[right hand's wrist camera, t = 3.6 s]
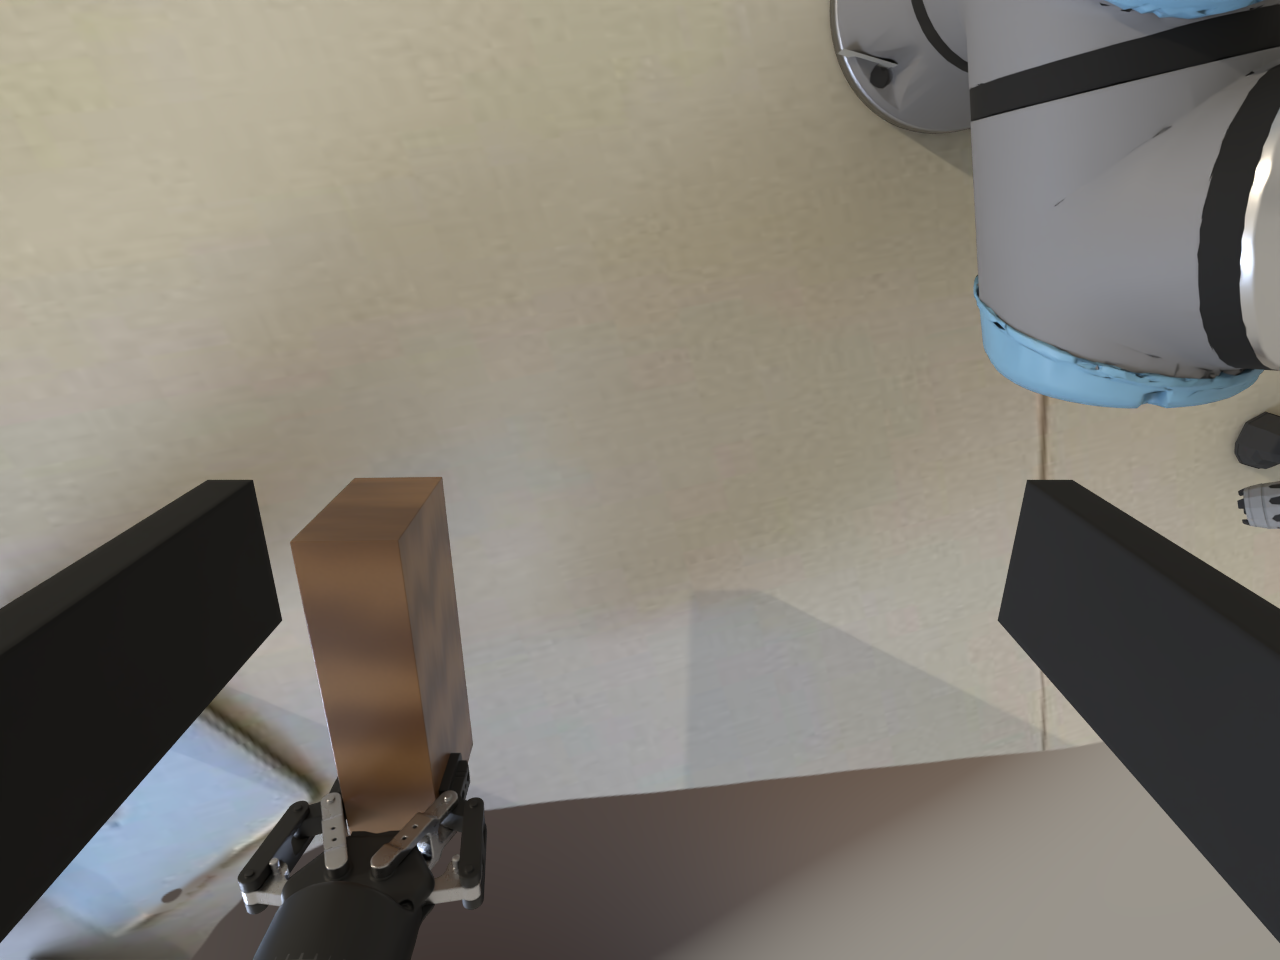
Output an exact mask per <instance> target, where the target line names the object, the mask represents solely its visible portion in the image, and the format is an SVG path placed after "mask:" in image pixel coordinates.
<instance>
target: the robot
mask: <svg viewBox="0 0 1280 960" xmlns="http://www.w3.org/2000/svg"><path fill="white" fill-rule="evenodd" d="M1235 455H1236V457H1237V458H1238V460H1239V462H1240V463H1241V464H1244V465H1248V466H1251V467H1255V468H1258V469H1259V468H1263V469H1267V468H1270V467H1273V466H1275V465H1278V464H1280V416H1277V415H1274V414H1271V413H1267V412H1264V413H1262V414H1260V415H1259V416H1257V417H1255V418H1253V419H1251V420H1250V421H1248V422H1246V423H1245V425H1244V427H1243V429H1242V431H1241V433H1240V435H1239V437H1238V439H1237V441H1236V444H1235ZM1238 493H1239V495H1240V496H1242V495H1244V499H1241V500H1238V508H1239V509H1244V514H1246V515H1247V519H1248V520H1242V521H1243V523H1244V524H1246V525H1250V526H1255V527H1262V528H1268V529H1280V481H1277V482H1271V483H1264V484H1257V485H1253V486H1250V487H1247V488H1244V489H1242V490H1240V491H1238Z"/></svg>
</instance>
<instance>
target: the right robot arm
mask: <svg viewBox="0 0 1280 960" xmlns="http://www.w3.org/2000/svg"><path fill="white" fill-rule="evenodd" d="M830 25H831V33H832V40H833V44H834V48H835V52H836V55H837V59H838V62H839V64H840V67H841V69H842V71H843V74H844V76H845V77H846V79H847V81H848V83H849V85H850V86H851V88H852V89H853V90H854V92H855V93H856V95H857V96H858V97H859V98H860V99H861V100H862V102H863V103H864V104H865V105H866V106H867V107H868V108H870V109H871V110H872V111H873V112H874V113H876V114H877V115H878V116H880V117H881V118H882V119H884V120H886V121H888V122H890V123H891V124H894V125H896V126H898V127H901V128H904V129H907V130H911V131H915V132H921V133H932V134H938V133H950V132H956V131H961V130H965V129H969V128H971V143H972V163H973V182H974V202H975V222H976V241H977V261H978V275H977V276H976V278H975V281H974V297H975V298H976V301H977V306H978V307H979V309H980V317H981V327H982V337H983V345H984V349H985V352H986V353H987V355H988V357H989V359H990V361H991V363H992V364H993V365H994V366H995V368H996V369H997V371H998V372H1000V373H1001V374H1002V375H1003V376H1005V377H1006V378H1007V379H1009V380H1010V381H1012V382H1014V383H1015V384H1017V385H1019V386H1021V387H1023V388H1026V389H1028V390H1031V391H1033V392H1036V393H1039V394H1042V395H1046V396H1049V397H1052V398H1057V399H1061V400H1065V401H1069V402H1075V403H1080V404H1086V405H1093V406H1102V407H1113V408H1138V407H1139V406H1140V405H1142V404H1146V403H1149V404H1154V405H1158V406H1161V407H1165V408H1175V407H1187V406H1196V405H1202V404H1207V403H1212V402H1216V401H1220V400H1223V399H1227V398H1229V397H1232V396H1234V395H1236V394H1238V393H1240V392H1241V391H1243V390H1245V389H1246V388H1248V387H1249V386H1251V385H1252V384H1253V383H1254V382H1255V381H1256V380H1257V379H1258V377H1259V375H1260V374H1261V373H1262V372H1263V371H1264V370H1277V371H1280V0H830ZM281 621H282V617H281V612H280V608H279V603H278V598H277V593H276V588H275V584H274V579H273V574H272V569H271V564H270V560H269V555H268V550H267V545H266V541H265V536H264V531H263V526H262V521H261V517H260V512H259V507H258V502H257V497H256V493H255V488H254V483H253V480H207V481H205V482H204V483H202V484H200V485H199V486H197V487H196V488H194V489H192V490H191V491H189V492H187V493H186V494H184V495H183V496H181V497H179V498H178V499H176V500H175V501H173V502H171V503H170V504H168V505H167V506H165V507H163V508H162V509H160V510H159V511H157V512H155V513H154V514H152V515H150V516H149V517H147V518H146V519H144V520H142V521H141V522H139V523H138V524H136V525H134V526H133V527H131V528H130V529H128V530H126V531H125V532H123V533H122V534H120V535H118V536H117V537H115V538H113V539H112V540H110V541H109V542H107V543H105V544H104V545H102V546H101V547H99V548H97V549H96V550H94V551H93V552H91V553H89V554H88V555H86V556H85V557H83V558H81V559H80V560H78V561H77V562H75V563H73V564H72V565H70V566H68V567H67V568H65V569H64V570H62V571H60V572H59V573H57V574H56V575H54V576H52V577H51V578H49V579H48V580H46V581H44V582H43V583H41V584H40V585H38V586H36V587H35V588H33V589H31V590H30V591H28V592H27V593H25V594H23V595H22V596H20V597H19V598H17V599H15V600H14V601H12V602H11V603H9V604H7V605H6V606H4V607H3V608H1V609H0V943H1V941H2V940H3V939H4V938H5V937H6V936H7V935H8V933H9V932H10V931H11V930H12V929H13V928H14V927H15V925H16V924H17V923H18V922H19V921H20V920H21V919H22V917H23V916H24V915H25V914H26V913H27V912H28V911H29V909H30V908H31V907H32V906H33V905H34V904H35V903H36V901H37V900H38V899H39V898H40V897H41V896H42V895H43V893H44V892H45V891H46V890H47V889H48V888H49V887H50V885H51V884H52V883H53V882H54V881H55V880H56V879H57V877H58V876H59V875H60V874H61V873H62V872H63V871H64V869H65V868H66V867H67V866H68V865H69V864H70V863H71V861H72V860H73V859H74V858H75V857H76V856H77V855H78V853H79V852H80V851H81V850H82V849H83V848H84V847H85V845H86V844H87V843H88V842H89V841H90V840H91V839H92V837H93V836H94V835H95V834H96V833H97V832H98V831H99V829H100V828H101V827H102V826H103V825H104V824H105V823H106V821H107V820H108V819H109V818H110V817H111V816H112V815H113V813H114V812H115V811H116V810H117V809H118V808H119V807H120V805H121V804H122V803H123V802H124V801H125V800H126V799H127V797H128V796H129V795H130V794H131V793H132V792H133V791H134V789H135V788H136V787H137V786H138V785H139V784H140V782H141V781H142V780H143V779H144V778H145V777H146V776H147V774H148V773H149V772H150V771H151V770H152V769H153V768H154V766H155V765H156V764H157V763H158V762H159V761H160V760H161V758H162V757H163V756H164V755H165V754H166V753H167V752H168V750H169V749H170V748H171V747H172V746H173V745H174V744H175V742H176V741H177V740H178V739H179V738H180V737H181V736H182V734H183V733H184V732H185V731H186V730H187V729H188V728H189V726H190V725H191V724H192V723H193V722H194V721H195V720H196V718H197V717H198V716H199V715H200V714H201V713H202V712H203V710H204V709H205V708H206V707H207V706H208V705H209V704H210V702H211V701H212V700H213V699H214V698H215V697H216V696H217V694H218V693H219V692H220V691H221V690H222V689H223V688H224V686H225V685H226V684H227V683H228V682H229V681H230V680H231V678H232V677H233V676H234V675H235V674H236V673H237V672H238V670H239V669H240V668H241V667H242V666H243V665H244V664H245V662H246V661H247V660H248V659H249V658H250V657H251V656H252V654H253V653H254V652H255V651H256V650H257V649H258V648H259V646H260V645H261V644H262V643H263V642H264V641H265V640H266V638H267V637H268V636H269V635H270V634H271V633H272V632H273V630H274V629H275V628H276V627H277V626H278V625H279V624H280V622H281ZM998 621H999V622H1000V624H1001V625H1002V626H1003V627H1004V628H1005V629H1006V630H1007V632H1008V633H1009V634H1010V635H1011V636H1012V637H1013V638H1014V640H1015V641H1016V642H1017V643H1018V644H1019V645H1020V646H1021V648H1022V649H1023V650H1024V651H1025V652H1026V653H1027V654H1028V656H1029V657H1030V658H1031V659H1032V660H1033V661H1034V662H1035V664H1036V665H1037V666H1038V667H1039V668H1040V669H1041V670H1042V672H1043V673H1044V674H1045V675H1046V676H1047V677H1048V678H1049V680H1050V681H1051V682H1052V683H1053V684H1054V685H1055V686H1056V688H1057V689H1058V690H1059V691H1060V692H1061V693H1062V694H1063V696H1064V697H1065V698H1066V699H1067V700H1068V701H1069V702H1070V704H1071V705H1072V706H1073V707H1074V708H1075V709H1076V710H1077V712H1078V713H1079V714H1080V715H1081V716H1082V717H1083V718H1084V720H1085V721H1086V722H1087V723H1088V724H1089V725H1090V726H1091V728H1092V729H1093V730H1094V731H1095V732H1096V733H1097V734H1098V736H1099V737H1100V738H1101V739H1102V740H1103V741H1104V742H1105V744H1106V745H1107V746H1108V747H1109V748H1110V749H1111V750H1112V752H1113V753H1114V754H1115V755H1116V756H1117V757H1118V758H1119V760H1120V761H1121V762H1122V763H1123V764H1124V765H1125V766H1126V768H1127V769H1128V770H1129V771H1130V772H1131V773H1132V774H1133V776H1134V777H1135V778H1136V779H1137V780H1138V781H1139V782H1140V784H1141V785H1142V786H1143V787H1144V788H1145V789H1146V791H1147V792H1148V793H1149V794H1150V795H1151V796H1152V797H1153V799H1154V800H1155V801H1156V802H1157V803H1158V804H1159V805H1160V807H1161V808H1162V809H1163V810H1164V811H1165V812H1166V813H1167V814H1168V816H1169V817H1170V818H1171V819H1172V820H1173V821H1174V822H1175V824H1176V825H1177V826H1178V827H1179V828H1180V829H1181V831H1182V832H1183V833H1184V834H1185V835H1186V836H1187V837H1188V839H1189V840H1190V841H1191V842H1192V843H1193V844H1194V845H1195V847H1196V848H1197V849H1198V850H1199V851H1200V852H1201V853H1202V855H1203V856H1204V857H1205V858H1206V859H1207V860H1208V861H1209V863H1210V864H1211V865H1212V866H1213V867H1214V868H1215V869H1216V871H1217V872H1218V873H1219V874H1220V875H1221V876H1222V877H1223V879H1224V880H1225V881H1226V882H1227V883H1228V884H1229V885H1230V887H1231V888H1232V889H1233V890H1234V891H1235V892H1236V893H1237V895H1238V896H1239V897H1240V898H1241V899H1242V900H1243V901H1244V903H1245V904H1246V905H1247V906H1248V907H1249V908H1250V909H1251V911H1252V912H1253V913H1254V914H1255V915H1256V916H1257V917H1258V919H1259V920H1260V921H1261V922H1262V923H1263V924H1264V925H1265V927H1266V928H1267V929H1268V930H1269V931H1270V932H1271V933H1272V935H1273V936H1274V937H1275V938H1276V939H1277V940H1278V941H1279V943H1280V609H1279V608H1277V607H1276V606H1274V605H1273V604H1271V603H1269V602H1268V601H1266V600H1265V599H1263V598H1261V597H1260V596H1258V595H1257V594H1255V593H1253V592H1252V591H1250V590H1249V589H1247V588H1245V587H1244V586H1242V585H1240V584H1239V583H1237V582H1236V581H1234V580H1232V579H1231V578H1229V577H1228V576H1226V575H1224V574H1223V573H1221V572H1220V571H1218V570H1216V569H1215V568H1213V567H1212V566H1210V565H1208V564H1207V563H1205V562H1203V561H1202V560H1200V559H1199V558H1197V557H1195V556H1194V555H1192V554H1191V553H1189V552H1187V551H1186V550H1184V549H1183V548H1181V547H1179V546H1178V545H1176V544H1175V543H1173V542H1171V541H1170V540H1168V539H1167V538H1165V537H1163V536H1162V535H1160V534H1158V533H1157V532H1155V531H1154V530H1152V529H1150V528H1149V527H1147V526H1146V525H1144V524H1142V523H1141V522H1139V521H1138V520H1136V519H1134V518H1133V517H1131V516H1130V515H1128V514H1126V513H1125V512H1123V511H1121V510H1120V509H1118V508H1117V507H1115V506H1113V505H1112V504H1110V503H1109V502H1107V501H1105V500H1104V499H1102V498H1101V497H1099V496H1097V495H1096V494H1094V493H1093V492H1091V491H1089V490H1088V489H1086V488H1084V487H1083V486H1081V485H1080V484H1078V483H1076V482H1075V481H1073V480H1027V483H1026V488H1025V493H1024V497H1023V502H1022V507H1021V512H1020V517H1019V521H1018V526H1017V531H1016V536H1015V541H1014V545H1013V550H1012V555H1011V560H1010V564H1009V569H1008V574H1007V579H1006V584H1005V588H1004V593H1003V598H1002V603H1001V608H1000V612H999V617H998Z"/></svg>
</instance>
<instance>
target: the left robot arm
mask: <svg viewBox="0 0 1280 960" xmlns="http://www.w3.org/2000/svg"><path fill="white" fill-rule="evenodd" d="M469 784H470V776H469V767H468V762H467V760H462V754H461V753H451V754H450V757H449V760H448V763H447V766H446V769H445V772H444V775H443V778H442V781H441V785H440V788H439V797H438V798H437V799H436V800H435V801H434V802H433V803H432V804H431V806H430V807H429V808H428V809H427V810H426V811H425V812H424V813H422V812H418V813H416V814H415V816H414V817H413V818H412V819H411V820H410V821H409V822H408V823H407V824H406V825H405V826H404V827H403V828H402V829H401V830H395V831H387V832H382V833H377V834H376V833H372V832H367V831H352V833H351V836H348V831H347V824H346V819H347V817H346V813H345V808H344V803H343V798H342V793H341V788H340V783H339V778H338V777H337V779H336V781H335V783H334V785H333V787H332V789H331V791H330V793H329V794H327V795H326V796H324V797H323V798H322V800H321V802H318V803H315V804H311V805H309V804H308V803H307V802H306V801H298V802H296V803H294V804H292V805H291V806H290V807H289V809H288V810H287V811H286V813H285V814H284V815H283V817H282V818H281V819H280V820H279V822H278V823H277V824H276V826H275V827H274V828H273V830H272V831H271V832H270V834H269V835H268V836H267V838H266V839H265V840H264V842H263V843H262V844H261V846H260V847H259V848H258V850H257V851H256V852H255V854H254V855H253V856H252V858H251V859H250V860H249V862H248V863H247V864H246V866H245V867H244V868H243V870H242V871H241V872H240V874H239V876H238V882H239V886H240V889H241V893H242V896H243V900H244V903H245V906H246V910H247V912H248V913H249V914H258V913H260V912H262V911H263V910H265V909H266V908H267V906H268V905H275V906H280V907H279V909H278V910H277V912H276V914H275V916H274V918H273V919H272V922H271V924H270V926H269V928H268V930H267V932H266V934H265V935H264V937H263V939H262V941H261V944H260V945H259V948H258V949H257V952H256V953H255V955H254V958H253V959H252V960H411V956H412V953H413V949H414V946H415V942H416V938H417V934H418V930H419V927H420V925H421V923H422V921H423V920H424V919H425V917H426V916H427V915H428V914H429V913H430V911H431V910H432V909H433V907H434V905H435V904H436V903H443V902H450V901H457V900H462V902H463V906H464V907H465V908H466V909H469V910H473V909H476V908H478V907H479V906H480V905H481V904H482V903H483V900H484V882H485V861H486V840H487V829H486V824H485V818H484V802H483V800H482V799H481V798H471V799H469V800H468V801H467V800H465V798H466V795H467V791H468V787H469ZM457 831H459V832H462V838H461V849H460V855H458V854H457V855H454V856H453V857H452V861H451V862H450V863H449V864H448V866H447V870H446V872H445V873H444V874H443V875H442V876H440V877H438V878H434V876H433V874H432V872H431V869H432V868H433V867H434V866H435V864H436V863H437V862H438V861H439V859H440V857H441V854H442V850H443V848H444V847H445V846H446V844H447V843H448V842H449V841H450V840H451V838H452V837H453V836H454V835H455V834H456V833H457ZM321 833H323V843H324V852H323V853H321V854H320V855H319V856H317V857H316V858H315V859H313V860H312V861H311V862H310V863H308V864H307V865H306V866H304V867H303V868H302V869H300V870H299V871H298V872H296V873H295V874H294V875H293V876H291V877H290V872H291V871H292V869H293V868H294V866H295V865H296V863H297V862H298V861H299V859H300V858H301V856H302V855H303V853H304V852H305V850H306V849H307V847H308V846H309V844H310V843H311V841H312V840H313V838H314V837H315V835H317V834H321Z"/></svg>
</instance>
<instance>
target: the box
mask: <svg viewBox="0 0 1280 960" xmlns="http://www.w3.org/2000/svg"><path fill="white" fill-rule="evenodd" d="M290 545H291V550H292V554H293V559H294V564H295V569H296V574H297V579H298V584H299V588H300V593H301V598H302V603H303V608H304V613H305V618H306V623H307V627H308V632H309V637H310V642H311V647H312V652H313V657H314V662H315V666H316V671H317V676H318V681H319V686H320V691H321V696H322V701H323V705H324V710H325V715H326V720H327V725H328V730H329V735H330V740H331V744H332V749H333V754H334V759H335V764H336V769H337V774H338V778H339V783H340V788H341V793H342V798H343V803H344V808H345V813H346V817H347V822H348V827H349V832H350V836H351V833H352V831H367V832H372V833H376V834H377V833H382V832H387V831H395V830H401V829H402V828H403V827H404V826H405V825H406V824H407V823H408V822H409V821H410V820H411V819H412V818H413V817H414V816H415V814H416V813H418V812H422V813H424V812H425V811H426V810H427V809H428V808H429V807H430V806H431V804H432V803H433V802H434V801H435V800H436V799H437V798H438V797H439V788H440V785H441V781H442V778H443V775H444V772H445V769H446V766H447V763H448V760H449V757H450V754H451V753H461V754H462V760H467V762H468V760H469V756H470V753H471V750H472V746H473V741H472V732H471V723H470V715H469V706H468V697H467V689H466V680H465V671H464V663H463V654H462V645H461V637H460V628H459V619H458V611H457V602H456V594H455V585H454V576H453V568H452V559H451V550H450V542H449V533H448V524H447V516H446V507H445V498H444V490H443V481H442V477H406V478H354V479H353V480H352V481H351V482H350V483H349V484H348V485H347V486H346V487H345V488H344V489H343V490H342V491H341V492H340V493H339V494H338V495H337V496H336V497H335V498H334V499H333V500H332V501H331V502H330V503H329V504H328V505H327V506H326V507H325V508H324V509H323V510H322V511H321V512H320V513H319V514H318V515H317V516H316V517H315V518H314V519H313V520H312V521H311V522H310V523H309V524H308V525H307V526H306V527H305V528H304V529H303V530H302V531H301V532H300V533H299V534H298V535H297V536H296V537H295V538H294V539H293V540H292V541H291V542H290Z"/></svg>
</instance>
